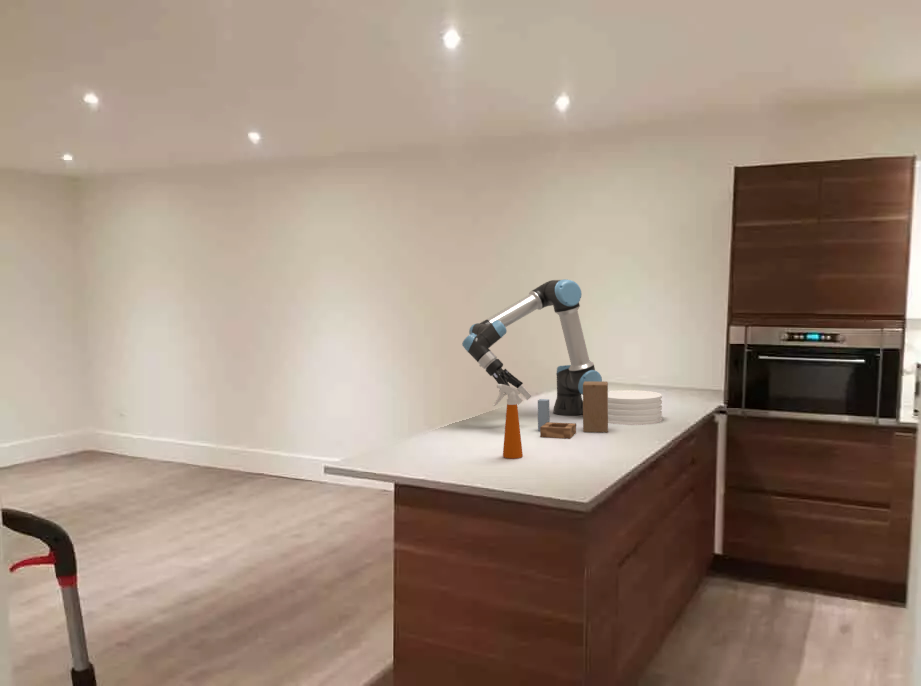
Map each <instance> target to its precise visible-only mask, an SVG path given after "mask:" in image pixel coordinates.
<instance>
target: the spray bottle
mask: <svg viewBox="0 0 921 686" xmlns="http://www.w3.org/2000/svg"><path fill="white" fill-rule="evenodd" d="M496 388H497V389H499V391H498V392H499V394H498V397H497V398H496V400H495V402H494V403H493V404H492V406H493V407H495V406H496V405H498V404H499V403H500V402H501V401H502V400H503V398H505V396H507V398H506V410H505V411H506V413H505V425H504V439H503V447H502V448H503V449H502V450H503V451H502V457H503V458H505V459H509V460H510V459H512V460H514V459H515V460H516V459H517V460H518V459H521V458H523V457H524V455H523V445H522V438H521V429H520V428H521V426H520V418H519V409H518V404H517V399H516V395H520V394H521V392H520V391H518V390H517V389H518V388H516V387H513V386H511V385H510V386H507V385H504V384H498V383H497V385H496Z"/></svg>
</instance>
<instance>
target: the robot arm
mask: <svg viewBox="0 0 921 686" xmlns="http://www.w3.org/2000/svg"><path fill="white" fill-rule="evenodd" d="M581 298H582V289H581V287H580V285H579V284H578V283H577V282H575V281H574V280H571V279H553V280H548V281H546V282H544V283H543V284H541V285H539V286H537V287H536V288H534V289H532V290H531V291H529V293H528V295H526V296H524V297H523V298H521V299H519V300H518V301H516V302H514V303H513V304H511V305H509V306H507V307H506V308H504V309H502V310H500V311H499V312H497V313H495V314H493V315H492V316H490V317H487V318H486V319H485V320H483V321H481V322H479V323H474V324H472V325H471V326H470V327H469V329H468V330H469V331H468V333H469V335H467V336H466V337H465V338H464V339H463V341H462V344H461V345H462V347H463V348H464V350H466V352H467V353H468V354H469V356H471V357H472V358H473V359H474V360H475V361H476V362H477V363H478V364H479V367H482V368H483V370H485V372H486V373H487V375H489V376H490V377H492V378H493V379H494V380H495V381H496V383H497V385H498V384H504V385H507V386H510V387H511V385H512V387H513V386H514V388H515V389H517V390H518V391H520V392H521V393H520V394H521V396H523V397H524V398H525V399H526V401H528V400H529V399H531V398H532V397H533V395H532V394H531V393H530V392H529V391H528V390H527V388H526V387H524V386H523V384H524V383H523V381H521V380H519V379H518V378H517V377H516V376H514V375H513V374H512V373H511V372H510V371H509V370H508V369H507V368H504V369H503V367H504V363H503V362H502V360H500V359H499V358H497V357H498V356H496V355H495V353H494V352H493V351H492V350H491V349H490V348H491V347H492V346H493V345H494V344H496V343H497V342H498V341H500V340H501V339H503V337H504V336H505V335H506V334H507V332H508V331H507V327H508V326H510V325H512V324H514V323H516V322H517V321H519V320H521V319H523V318H524V317H526V316H527V315H529V314H531V313H533V312H535V311H536V310H538V311H539V310H542V309H544V308H546V307H550V306H551V307H553V311H554V313H555V314H557V315H558V317H559V320H560V325H561V329H562V334H563V337H564V341H565V342H564V343H565V346H566V350H567V354H568V358H569V362H570V364H566V365H558V366H557V367H556V373H555V375H556V399H555V402H554V405H553V407H552V408H553V410H552V411H553V414H555V415H561V416H578V415H579V416H580V415H583V383H584V382H585V381H595V382H603V379H602V374H600V372H598V370H596V368H595V364H594V362H593V361H591V360H590V358H589V353H588V348H587V344H586V339H585V337H584V332H583V328H582V324H581V320H580V315H579V311H578V310H579V308H580V307H581V304H580V302H581ZM520 394H518V395H516V399H517V406H518V405H520V404H521V403H522V402H523V401H524V400H523V398H522V397H521V396H520Z"/></svg>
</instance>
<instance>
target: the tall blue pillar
mask: <svg viewBox="0 0 921 686" xmlns="http://www.w3.org/2000/svg"><path fill="white" fill-rule="evenodd" d="M550 416H551V415H550V399H549V398H539V399H537V431H538V432H540V427H541V426H543V425H544V424H546V423H547V422H551V421H550Z"/></svg>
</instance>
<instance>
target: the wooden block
mask: <svg viewBox="0 0 921 686" xmlns="http://www.w3.org/2000/svg"><path fill="white" fill-rule="evenodd" d="M608 386H609V383H608V381H602V382H595V381H585V382H584V383H583V395H582V400H583V414H582V426H583V427H582V431H583V433H603V432H605V433H608V431H609V423H608V391H609V390H608V389H609V387H608Z"/></svg>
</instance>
